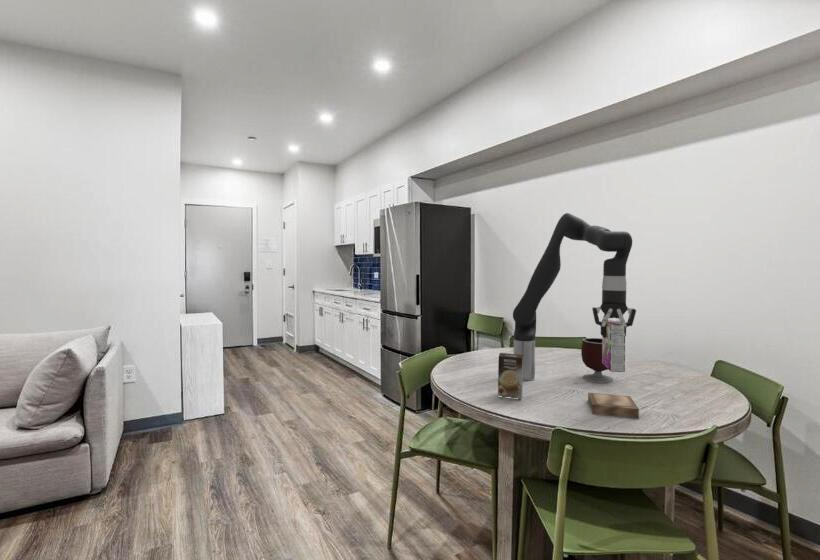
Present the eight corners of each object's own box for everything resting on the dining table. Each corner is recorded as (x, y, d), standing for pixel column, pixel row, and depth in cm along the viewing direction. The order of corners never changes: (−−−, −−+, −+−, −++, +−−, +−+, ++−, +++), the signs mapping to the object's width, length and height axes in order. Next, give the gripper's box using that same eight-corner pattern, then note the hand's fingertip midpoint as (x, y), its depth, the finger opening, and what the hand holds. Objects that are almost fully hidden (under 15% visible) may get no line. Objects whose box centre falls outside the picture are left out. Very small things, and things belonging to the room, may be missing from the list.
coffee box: (497, 397, 156) (497, 355, 156) (499, 392, 162) (499, 352, 162) (522, 400, 153) (522, 357, 153) (523, 395, 160) (523, 354, 159)
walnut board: (592, 413, 140) (592, 404, 140) (588, 400, 153) (588, 392, 153) (638, 418, 136) (638, 408, 136) (629, 404, 149) (630, 395, 149)
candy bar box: (600, 363, 150) (601, 319, 149) (615, 364, 149) (616, 319, 148) (609, 371, 139) (610, 323, 138) (625, 372, 138) (626, 324, 137)
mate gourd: (576, 379, 181) (577, 334, 180) (586, 373, 192) (587, 330, 191) (614, 386, 171) (615, 338, 170) (623, 379, 182) (624, 334, 181)
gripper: (593, 289, 142) (592, 338, 142) (639, 290, 137) (638, 340, 138) (590, 287, 149) (589, 334, 149) (634, 288, 144) (633, 336, 145)
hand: (613, 337), depth 144 cm, fingers closed on candy bar box, 5 cm apart
